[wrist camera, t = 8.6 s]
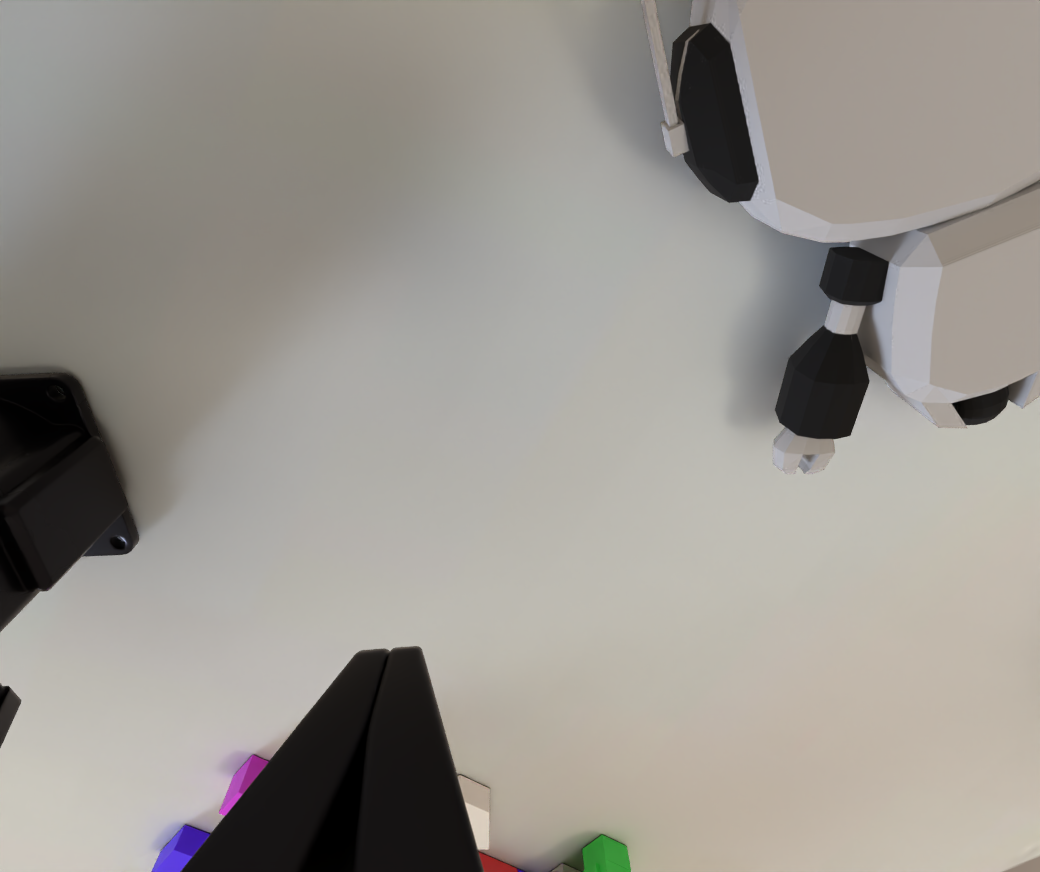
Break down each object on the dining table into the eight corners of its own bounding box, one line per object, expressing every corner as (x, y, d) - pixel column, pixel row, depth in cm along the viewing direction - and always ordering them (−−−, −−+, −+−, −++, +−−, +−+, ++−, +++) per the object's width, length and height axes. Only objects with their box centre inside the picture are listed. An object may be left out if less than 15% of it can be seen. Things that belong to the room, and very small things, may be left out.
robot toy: (1106, 303, 20) (1160, -363, 12) (1261, 361, 16) (1476, -560, 8) (732, 444, 22) (584, -58, 14) (788, 527, 18) (624, -104, 10)
